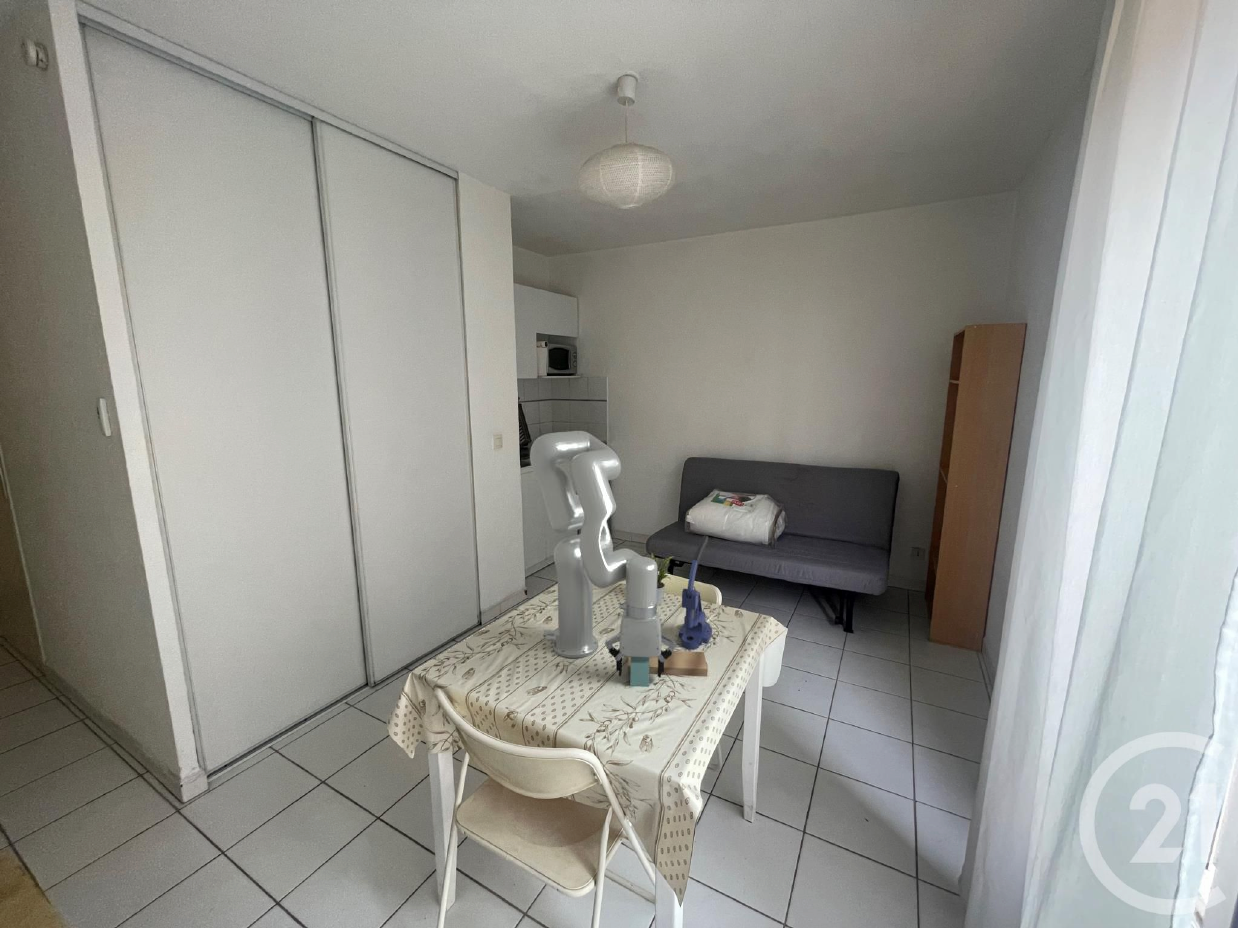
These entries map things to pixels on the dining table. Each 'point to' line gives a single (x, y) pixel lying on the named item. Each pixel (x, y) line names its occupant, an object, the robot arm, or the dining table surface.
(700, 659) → the board
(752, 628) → the dining table surface
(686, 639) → the hand press
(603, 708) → the dining table surface
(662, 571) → the house plant
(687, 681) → the dining table surface
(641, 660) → the gauge
